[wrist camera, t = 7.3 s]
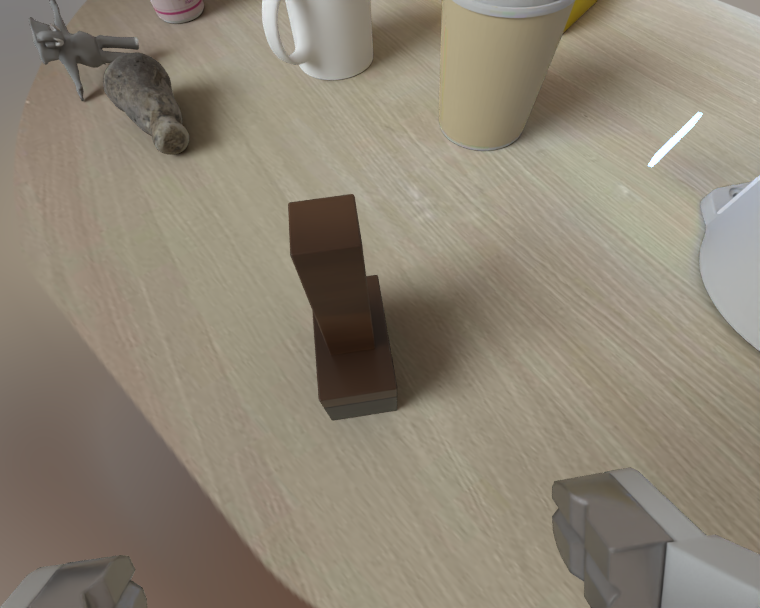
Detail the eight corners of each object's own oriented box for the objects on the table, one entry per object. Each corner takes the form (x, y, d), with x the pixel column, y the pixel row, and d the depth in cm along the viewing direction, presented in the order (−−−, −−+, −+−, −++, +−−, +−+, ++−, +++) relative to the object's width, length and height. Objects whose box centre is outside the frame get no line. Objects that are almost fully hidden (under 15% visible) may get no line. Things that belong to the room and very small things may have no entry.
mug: (321, 110, 38) (297, -20, 29) (258, 85, 40) (218, -42, 31) (387, 49, 42) (384, -80, 33) (328, 30, 45) (310, -95, 36)
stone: (203, 162, 36) (213, 68, 34) (140, 147, 32) (148, 38, 30) (150, 150, 41) (156, 68, 39) (89, 136, 37) (93, 42, 35)
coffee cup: (534, 96, 38) (587, -68, 27) (530, 164, 33) (592, -1, 23) (437, 87, 39) (452, -73, 28) (422, 151, 35) (432, -10, 24)
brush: (323, 318, 27) (265, 160, 15) (380, 309, 27) (367, 147, 15) (331, 420, 23) (265, 321, 12) (397, 410, 24) (397, 302, 12)
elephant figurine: (156, 90, 41) (47, 88, 36) (153, 111, 46) (57, 112, 41) (127, -17, 39) (8, -33, 34) (127, 18, 44) (24, 7, 39)
